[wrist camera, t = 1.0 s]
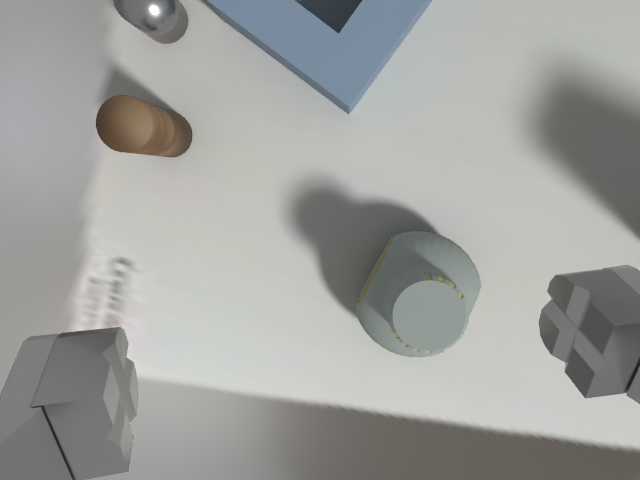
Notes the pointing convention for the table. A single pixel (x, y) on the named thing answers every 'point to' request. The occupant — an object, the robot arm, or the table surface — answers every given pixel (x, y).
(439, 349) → the air freshener
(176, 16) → the short pin
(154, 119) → the long pin
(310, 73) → the collar block
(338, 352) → the table surface
